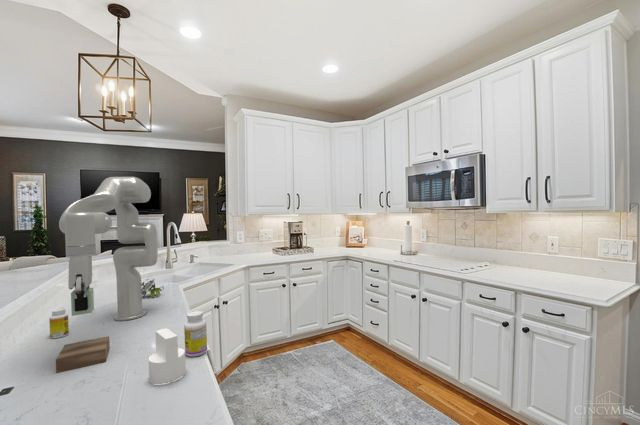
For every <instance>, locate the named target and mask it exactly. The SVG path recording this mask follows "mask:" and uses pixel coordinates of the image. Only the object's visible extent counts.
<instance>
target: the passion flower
mask: <svg viewBox="0 0 640 425" xmlns="http://www.w3.org/2000/svg"><path fill="white" fill-rule="evenodd" d="M141 287H142V299H143V297H145V296H146V295H147V293H148V292H149V293H150V297H151V298H152V299H155V295H156V297H159V295H160V294H161V292H163V290H164V289H165V288H164V287H165V286H164V285H162V286H160V287H156V282H155V278H152V280H148V281H147V282H146V283H145V281H143V282H141ZM161 288H162V289H161ZM158 294H159V295H158Z"/></svg>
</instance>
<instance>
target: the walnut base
mask: <svg viewBox="0 0 640 425" xmlns="http://www.w3.org/2000/svg"><path fill="white" fill-rule="evenodd" d="M110 348H111V347H110V336H109V335H108V336H104V337H98V338H94V339H87V340H83V341H78V342H73V343H69V344H68V343H67V344H64V346H63V347H62V348H61V351H60V352H59V353H58V355H57V356H56V358H55V373H56V374H58V373H62V372H63V373H64V372H67V371H71V370H75V369H80V368H84V367H90V366H92V365H93V366H94V365H98V364H102V363H105V362H107V360H108V356H109V351H110Z"/></svg>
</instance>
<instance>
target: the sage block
mask: <svg viewBox="0 0 640 425" xmlns="http://www.w3.org/2000/svg"><path fill="white" fill-rule="evenodd" d="M83 291H84V289H83ZM86 297H88V309H87V310H83V311H77V312H76V311H75V301H74V299H75V289H74V290H72V292H70V298H71V299H70V301H71V302H70V304H71V316H72V317H74V316H81V315H86V314H93V312H94V311H95V298H94V297H95V295H94V287H90V288H87V289H86Z"/></svg>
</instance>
